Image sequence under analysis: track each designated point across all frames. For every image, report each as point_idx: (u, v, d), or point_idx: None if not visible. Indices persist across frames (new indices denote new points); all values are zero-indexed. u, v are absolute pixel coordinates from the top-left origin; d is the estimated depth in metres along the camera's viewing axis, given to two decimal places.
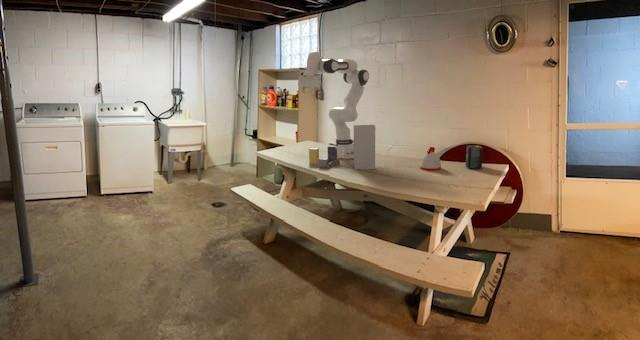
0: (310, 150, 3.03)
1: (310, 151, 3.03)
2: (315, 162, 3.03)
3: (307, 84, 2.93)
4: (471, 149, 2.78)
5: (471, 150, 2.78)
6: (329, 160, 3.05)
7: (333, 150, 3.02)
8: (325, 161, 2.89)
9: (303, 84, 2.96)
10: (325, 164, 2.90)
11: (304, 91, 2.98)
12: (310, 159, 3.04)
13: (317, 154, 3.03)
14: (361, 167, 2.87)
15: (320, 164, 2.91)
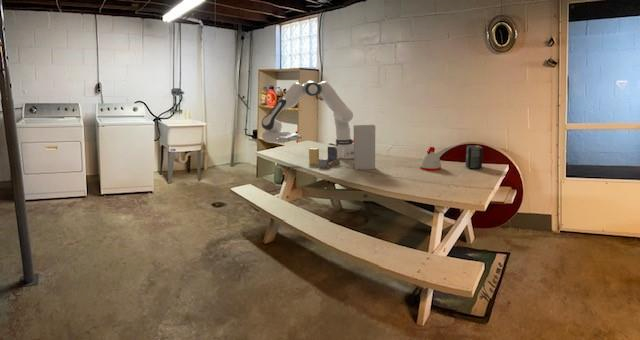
0: (310, 150, 3.03)
1: (310, 151, 3.03)
2: (315, 162, 3.03)
3: None
4: (471, 149, 2.78)
5: (471, 150, 2.78)
6: (329, 160, 3.05)
7: (333, 150, 3.02)
8: (325, 161, 2.89)
9: None
10: (325, 164, 2.90)
11: (299, 137, 3.11)
12: (310, 159, 3.04)
13: (317, 154, 3.03)
14: (361, 167, 2.87)
15: (320, 164, 2.91)
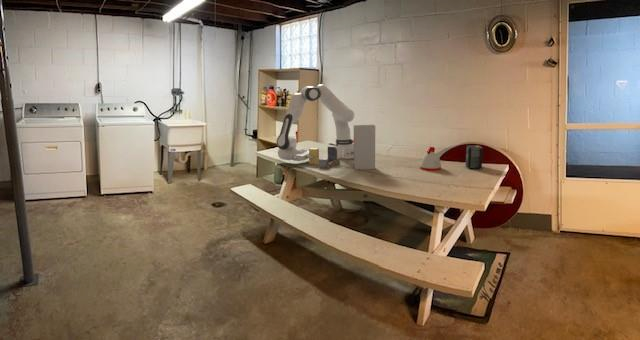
0: (310, 150, 3.03)
1: (310, 151, 3.03)
2: (315, 162, 3.03)
3: None
4: (471, 149, 2.78)
5: (471, 150, 2.78)
6: (329, 160, 3.05)
7: (333, 150, 3.02)
8: (325, 161, 2.89)
9: None
10: (325, 164, 2.90)
11: None
12: (310, 159, 3.04)
13: (317, 154, 3.03)
14: (361, 167, 2.87)
15: (320, 164, 2.91)
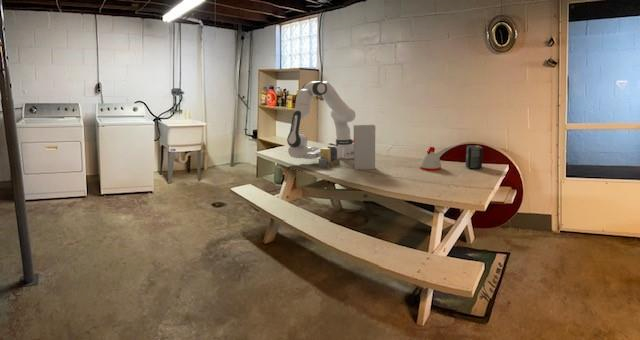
0: (322, 150, 2.96)
1: (322, 151, 2.97)
2: None
3: None
4: (471, 149, 2.78)
5: (471, 150, 2.78)
6: None
7: (333, 150, 3.02)
8: (325, 161, 2.89)
9: None
10: (325, 164, 2.90)
11: None
12: None
13: (329, 154, 2.97)
14: (361, 167, 2.87)
15: (320, 164, 2.91)
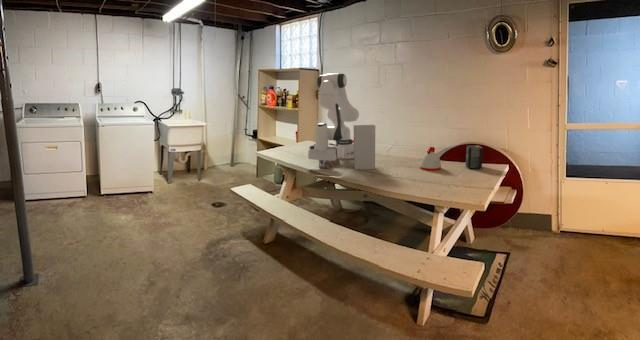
0: None
1: None
2: None
3: (321, 158, 2.87)
4: (471, 149, 2.78)
5: (471, 150, 2.78)
6: None
7: None
8: None
9: (315, 157, 2.89)
10: (325, 164, 2.90)
11: (322, 163, 2.90)
12: None
13: None
14: (361, 167, 2.87)
15: None
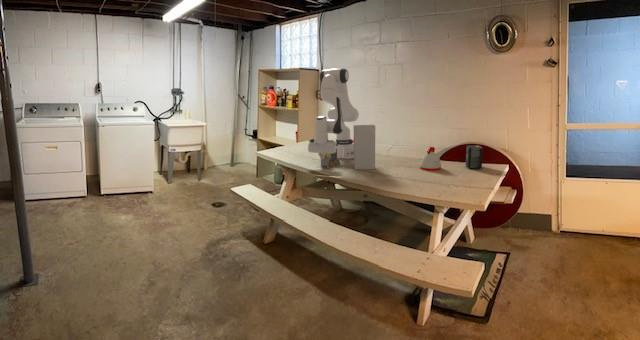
0: None
1: None
2: None
3: (321, 151, 2.90)
4: (471, 149, 2.78)
5: (471, 150, 2.78)
6: None
7: None
8: (328, 160, 2.93)
9: (315, 150, 2.92)
10: (327, 163, 2.93)
11: (322, 156, 2.93)
12: None
13: (329, 154, 2.97)
14: (361, 167, 2.87)
15: (323, 162, 2.95)
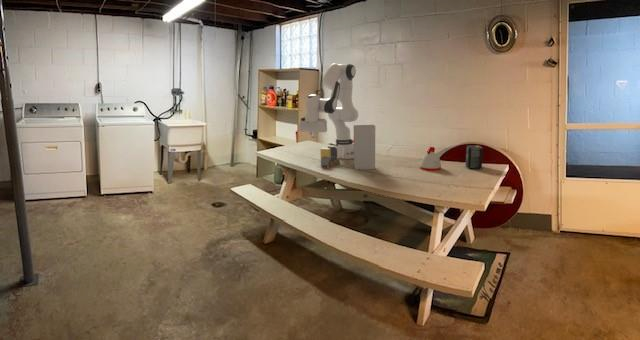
0: (322, 150, 2.96)
1: (322, 151, 2.97)
2: None
3: (312, 129, 2.89)
4: (471, 149, 2.78)
5: (471, 150, 2.78)
6: None
7: (333, 150, 3.02)
8: (327, 160, 2.93)
9: (306, 129, 2.91)
10: (327, 163, 2.93)
11: (313, 135, 2.92)
12: None
13: (329, 154, 2.97)
14: (361, 167, 2.87)
15: (322, 163, 2.95)
